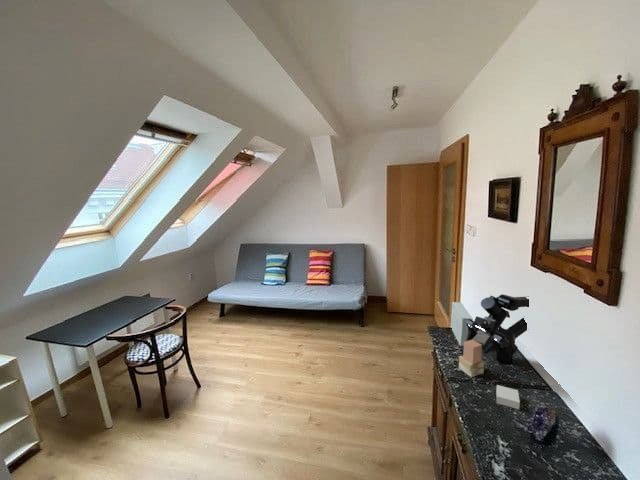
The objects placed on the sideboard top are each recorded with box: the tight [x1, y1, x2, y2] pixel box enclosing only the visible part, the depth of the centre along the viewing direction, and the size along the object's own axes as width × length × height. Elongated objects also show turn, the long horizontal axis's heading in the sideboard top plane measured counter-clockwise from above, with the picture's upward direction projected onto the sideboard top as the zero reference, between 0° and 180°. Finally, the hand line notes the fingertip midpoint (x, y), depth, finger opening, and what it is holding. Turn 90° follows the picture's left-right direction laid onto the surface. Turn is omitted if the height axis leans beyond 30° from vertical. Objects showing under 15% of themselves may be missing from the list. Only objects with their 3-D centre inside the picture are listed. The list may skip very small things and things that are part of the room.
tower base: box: [458, 361, 485, 378], centre depth 126 cm, size 7×7×3 cm
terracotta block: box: [463, 340, 483, 364], centre depth 124 cm, size 5×5×8 cm
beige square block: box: [458, 355, 485, 371], centre depth 126 cm, size 7×7×3 cm
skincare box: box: [450, 301, 474, 347], centre depth 153 cm, size 21×5×16 cm, turn 168°
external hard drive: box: [472, 331, 491, 346], centre depth 152 cm, size 2×8×12 cm
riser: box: [495, 384, 521, 410], centre depth 108 cm, size 7×7×3 cm
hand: (475, 347), depth 124 cm, fingers open, 9 cm apart
